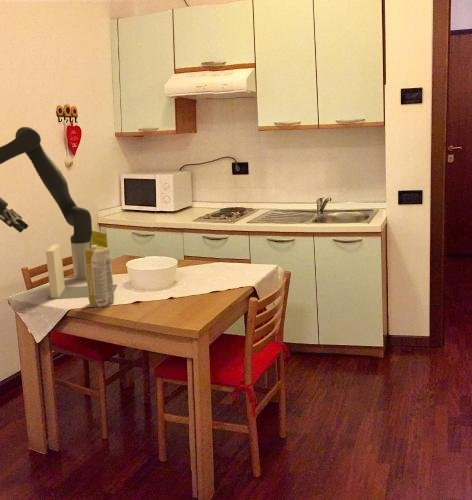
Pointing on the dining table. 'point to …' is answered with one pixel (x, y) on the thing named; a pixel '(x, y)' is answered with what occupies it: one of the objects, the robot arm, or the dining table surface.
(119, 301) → the dining table surface
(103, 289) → the juice carton
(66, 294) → the mat
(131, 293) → the dining table surface
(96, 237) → the food package
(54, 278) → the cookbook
